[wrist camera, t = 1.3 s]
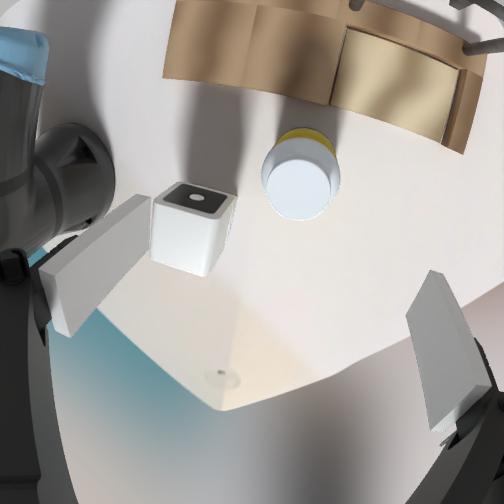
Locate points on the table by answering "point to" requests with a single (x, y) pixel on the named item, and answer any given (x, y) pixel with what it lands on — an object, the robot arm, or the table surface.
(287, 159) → the pill bottle
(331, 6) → the shelf board
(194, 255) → the security camera
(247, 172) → the table surface
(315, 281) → the table surface
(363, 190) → the table surface
